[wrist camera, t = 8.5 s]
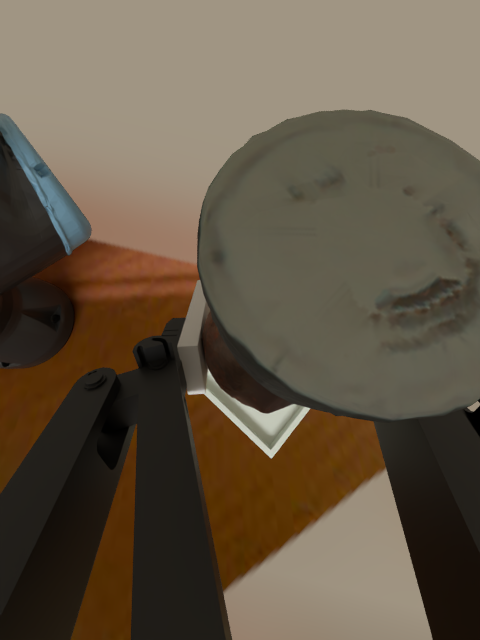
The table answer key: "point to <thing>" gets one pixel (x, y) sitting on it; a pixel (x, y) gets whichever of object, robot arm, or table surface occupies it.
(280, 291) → the sauce bottle
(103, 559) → the table surface
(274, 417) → the tray
